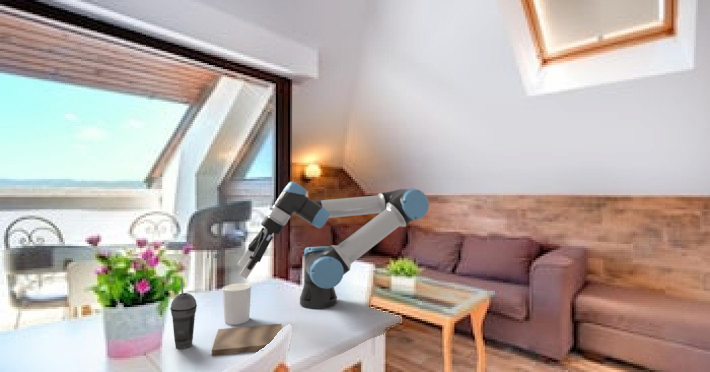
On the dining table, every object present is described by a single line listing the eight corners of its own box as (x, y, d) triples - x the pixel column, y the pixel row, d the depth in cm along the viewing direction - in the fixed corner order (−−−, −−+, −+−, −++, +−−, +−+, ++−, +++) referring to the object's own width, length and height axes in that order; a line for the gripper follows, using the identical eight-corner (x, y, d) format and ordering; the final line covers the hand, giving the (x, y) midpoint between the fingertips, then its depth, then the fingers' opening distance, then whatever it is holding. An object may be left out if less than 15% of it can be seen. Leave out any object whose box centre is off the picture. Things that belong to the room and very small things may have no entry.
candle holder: (242, 326, 125) (242, 291, 125) (216, 324, 127) (216, 289, 127) (256, 316, 135) (256, 284, 135) (231, 315, 137) (231, 282, 137)
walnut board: (281, 328, 124) (281, 323, 124) (283, 348, 109) (283, 343, 109) (218, 333, 119) (218, 329, 119) (211, 355, 104) (211, 350, 104)
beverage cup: (179, 353, 105) (179, 283, 105) (164, 347, 109) (165, 279, 109) (202, 344, 112) (202, 277, 112) (187, 338, 115) (187, 274, 115)
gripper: (262, 211, 144) (231, 257, 141) (271, 220, 121) (233, 276, 118) (278, 221, 147) (248, 267, 144) (290, 231, 123) (253, 287, 120)
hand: (241, 271), depth 131 cm, fingers open, 13 cm apart
